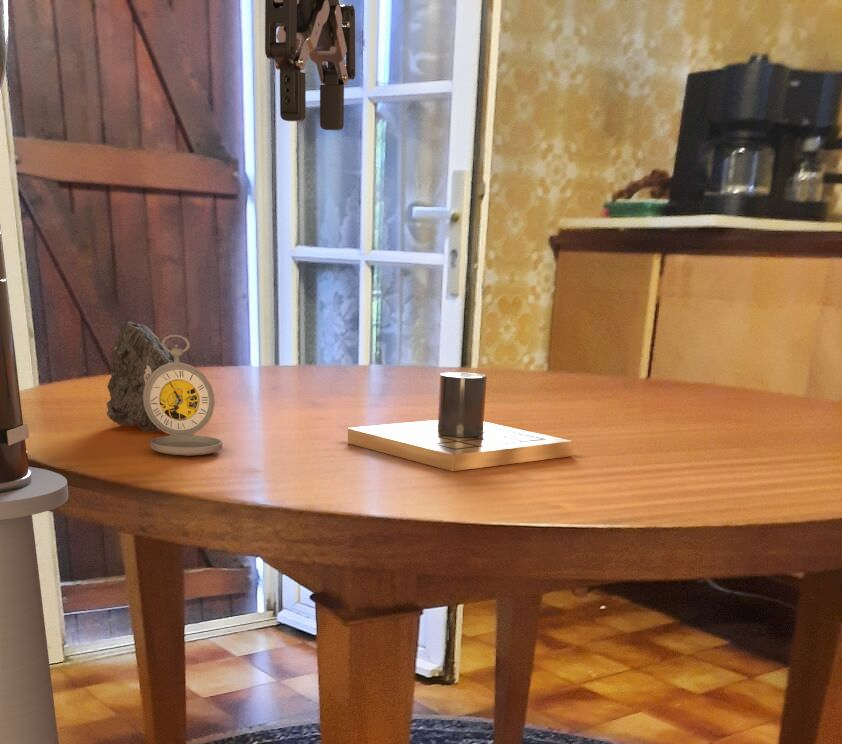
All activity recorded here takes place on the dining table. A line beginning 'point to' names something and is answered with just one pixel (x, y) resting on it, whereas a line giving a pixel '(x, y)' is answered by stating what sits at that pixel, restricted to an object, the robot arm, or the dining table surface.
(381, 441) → the board
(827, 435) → the dining table surface
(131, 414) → the rock
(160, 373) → the pocket watch
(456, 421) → the cylinder
